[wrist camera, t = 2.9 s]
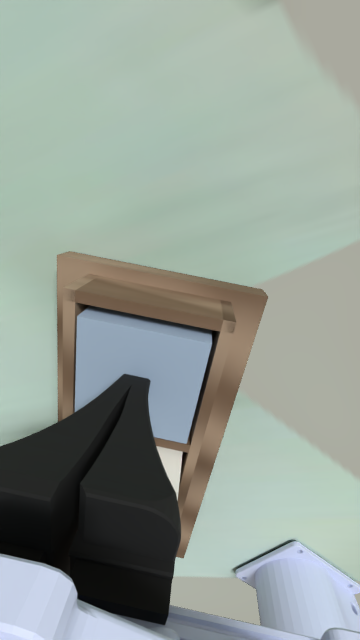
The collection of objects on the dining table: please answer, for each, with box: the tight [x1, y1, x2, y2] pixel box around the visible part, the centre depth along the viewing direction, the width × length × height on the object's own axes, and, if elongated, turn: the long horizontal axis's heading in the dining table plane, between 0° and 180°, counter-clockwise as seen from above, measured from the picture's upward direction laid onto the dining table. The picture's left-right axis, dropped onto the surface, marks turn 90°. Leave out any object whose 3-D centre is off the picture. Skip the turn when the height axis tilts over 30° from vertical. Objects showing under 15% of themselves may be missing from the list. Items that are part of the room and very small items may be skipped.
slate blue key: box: [75, 306, 212, 444], centre depth 15 cm, size 6×6×3 cm
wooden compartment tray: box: [57, 251, 268, 558], centre depth 19 cm, size 26×12×4 cm, turn 170°
